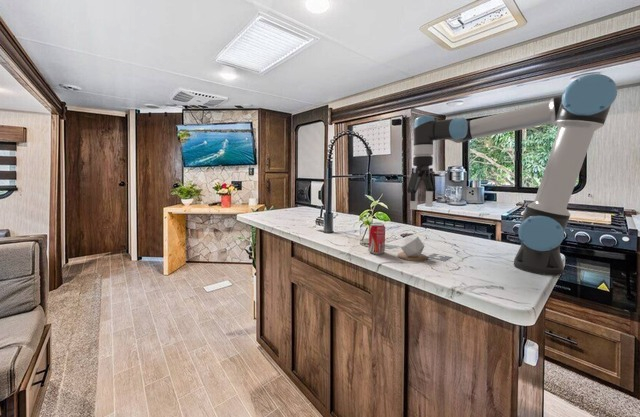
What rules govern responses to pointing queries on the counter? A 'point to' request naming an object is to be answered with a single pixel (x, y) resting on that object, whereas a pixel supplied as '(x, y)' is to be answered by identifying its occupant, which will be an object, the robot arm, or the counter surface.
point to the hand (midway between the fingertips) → (421, 207)
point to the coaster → (403, 256)
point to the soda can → (377, 238)
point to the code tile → (439, 257)
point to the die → (412, 246)
